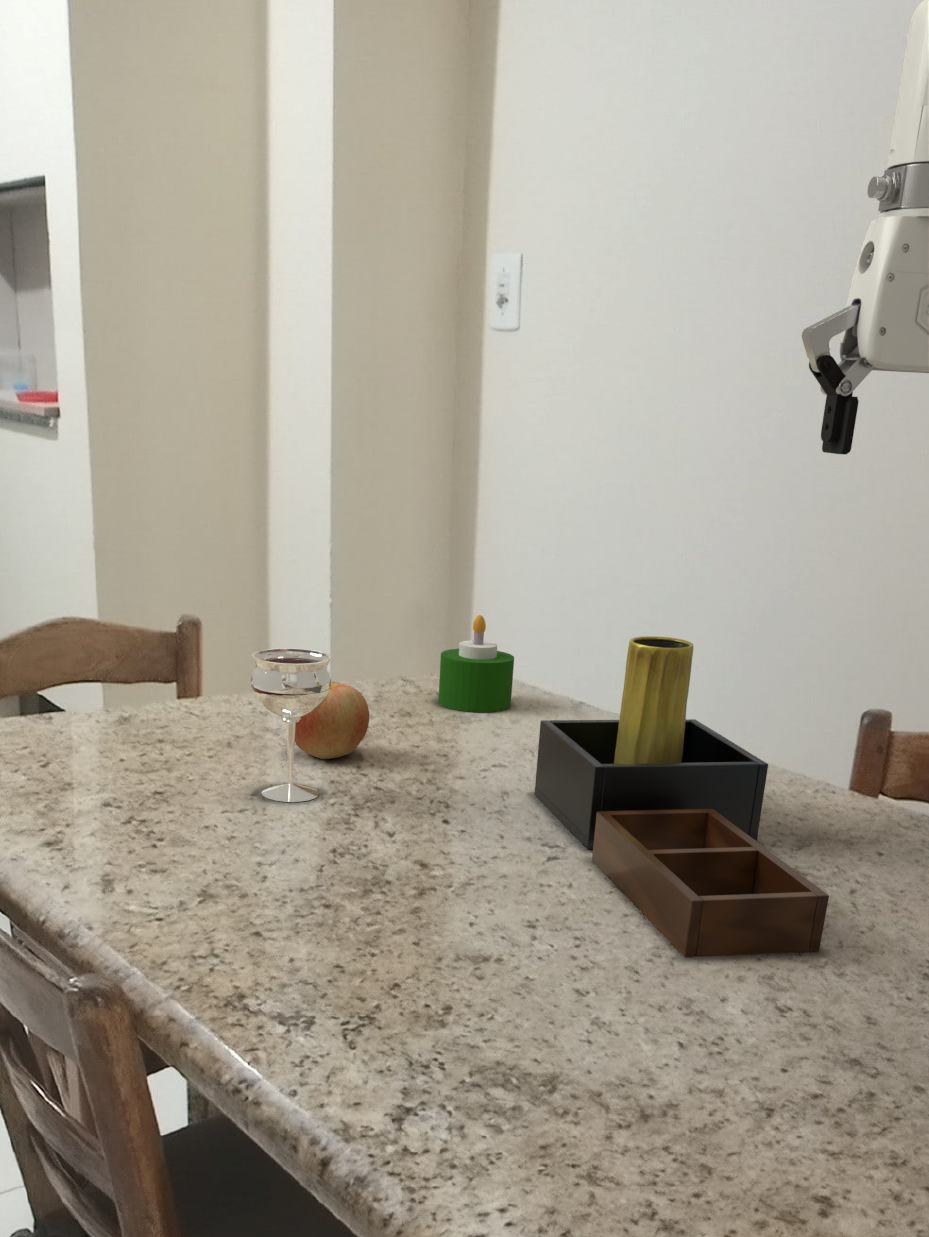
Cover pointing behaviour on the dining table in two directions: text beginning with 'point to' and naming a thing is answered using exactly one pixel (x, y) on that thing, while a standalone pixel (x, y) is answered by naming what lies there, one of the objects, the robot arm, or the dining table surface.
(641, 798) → the black open box
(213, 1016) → the dining table surface
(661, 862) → the divided wooden tray
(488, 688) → the candle
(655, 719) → the vase
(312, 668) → the wineglass
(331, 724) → the apple
